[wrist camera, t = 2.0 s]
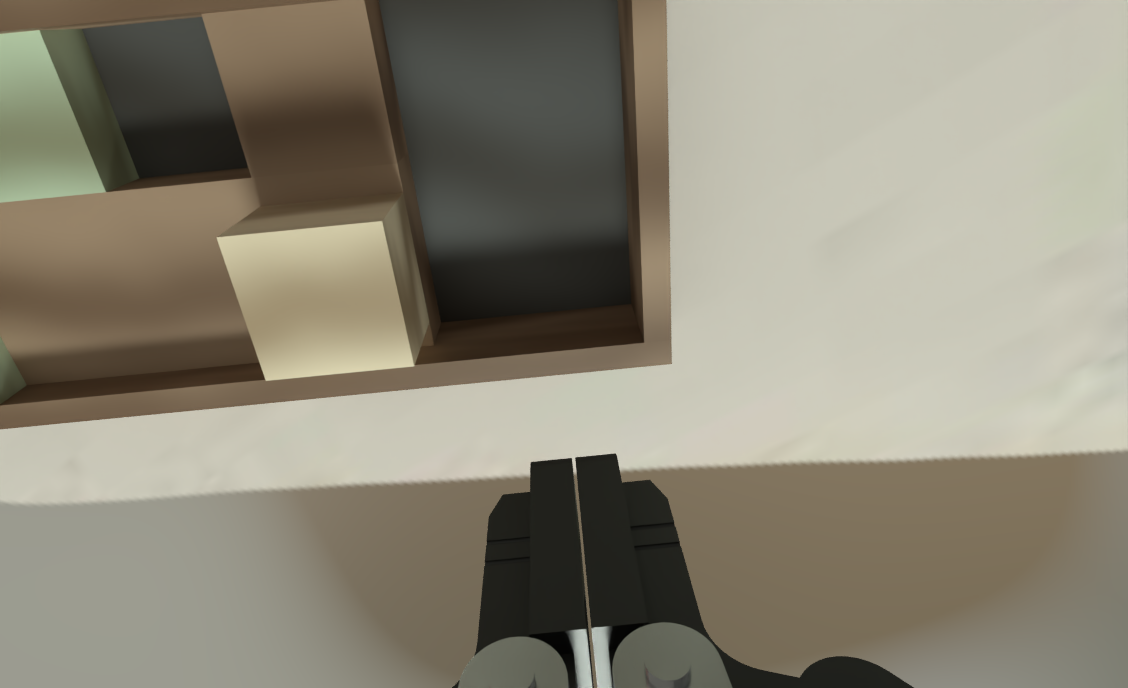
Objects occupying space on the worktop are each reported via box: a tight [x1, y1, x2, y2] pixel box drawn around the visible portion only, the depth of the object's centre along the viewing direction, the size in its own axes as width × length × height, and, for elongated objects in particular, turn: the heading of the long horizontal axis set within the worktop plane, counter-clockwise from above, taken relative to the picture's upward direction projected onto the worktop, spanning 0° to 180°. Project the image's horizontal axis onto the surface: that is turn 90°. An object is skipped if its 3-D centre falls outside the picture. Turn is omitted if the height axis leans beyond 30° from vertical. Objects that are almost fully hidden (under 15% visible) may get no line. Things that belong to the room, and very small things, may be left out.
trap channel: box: [0, 0, 672, 429], centre depth 23 cm, size 14×26×4 cm, turn 95°
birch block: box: [216, 193, 429, 381], centre depth 22 cm, size 5×5×4 cm
